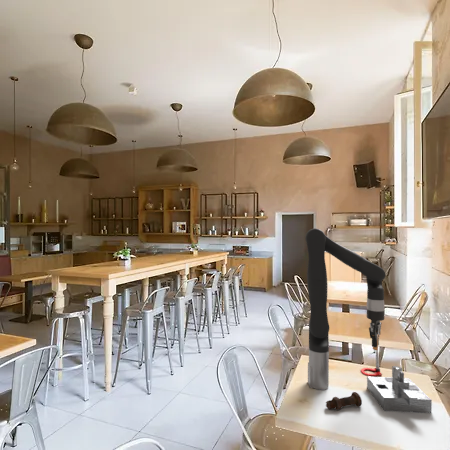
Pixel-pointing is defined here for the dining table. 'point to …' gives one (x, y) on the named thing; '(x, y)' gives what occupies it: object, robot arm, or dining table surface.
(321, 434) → the dining table surface
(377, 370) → the tow hook
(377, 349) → the rounded pin
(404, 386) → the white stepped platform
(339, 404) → the bolt
